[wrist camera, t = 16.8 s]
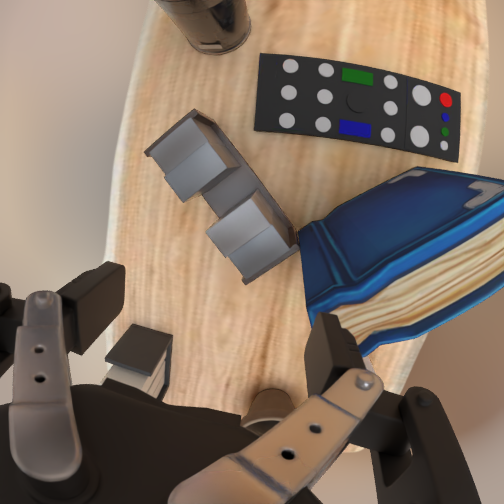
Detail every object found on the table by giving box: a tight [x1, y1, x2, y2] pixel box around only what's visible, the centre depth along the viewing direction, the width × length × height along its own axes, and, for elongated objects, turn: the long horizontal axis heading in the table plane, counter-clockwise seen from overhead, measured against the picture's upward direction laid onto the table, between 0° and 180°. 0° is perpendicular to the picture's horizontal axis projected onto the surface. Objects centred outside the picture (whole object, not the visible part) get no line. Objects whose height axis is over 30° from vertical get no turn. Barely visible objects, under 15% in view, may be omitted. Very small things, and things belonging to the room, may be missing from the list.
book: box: [298, 166, 504, 358], centre depth 30 cm, size 22×7×25 cm, turn 119°
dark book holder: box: [105, 324, 173, 401], centre depth 45 cm, size 12×8×15 cm, turn 169°
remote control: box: [254, 53, 461, 163], centre depth 37 cm, size 11×30×2 cm, turn 86°
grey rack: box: [144, 109, 300, 285], centre depth 37 cm, size 19×8×12 cm, turn 37°
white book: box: [99, 351, 166, 393], centre depth 44 cm, size 3×6×14 cm, turn 79°
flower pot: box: [240, 389, 295, 436], centre depth 48 cm, size 12×11×10 cm
